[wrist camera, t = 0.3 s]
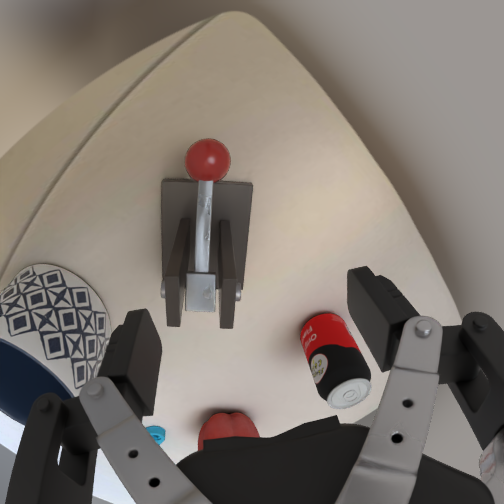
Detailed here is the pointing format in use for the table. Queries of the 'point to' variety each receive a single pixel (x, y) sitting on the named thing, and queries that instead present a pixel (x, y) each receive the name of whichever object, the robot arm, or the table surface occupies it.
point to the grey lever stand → (221, 242)
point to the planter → (48, 337)
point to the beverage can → (335, 361)
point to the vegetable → (227, 427)
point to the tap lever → (204, 219)
